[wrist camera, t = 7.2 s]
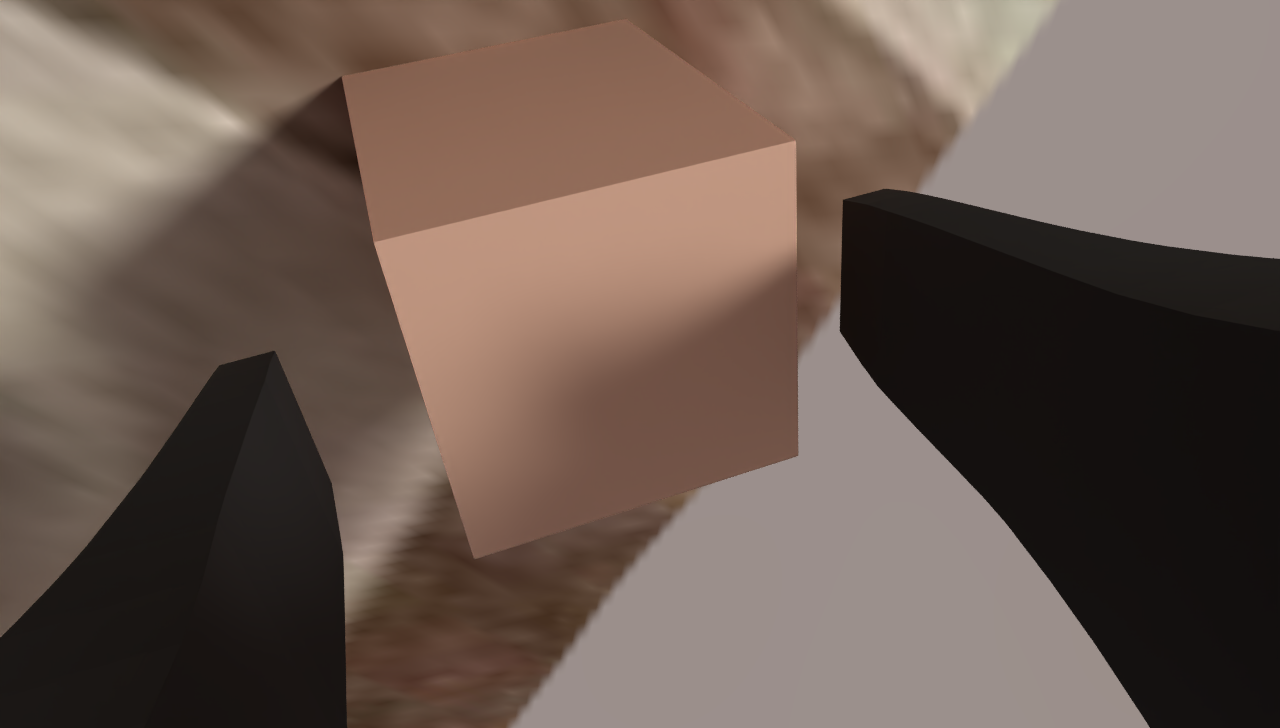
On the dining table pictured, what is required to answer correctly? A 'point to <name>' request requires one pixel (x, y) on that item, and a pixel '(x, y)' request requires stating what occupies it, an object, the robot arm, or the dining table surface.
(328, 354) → the dining table surface
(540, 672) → the dining table surface
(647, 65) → the block
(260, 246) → the dining table surface
